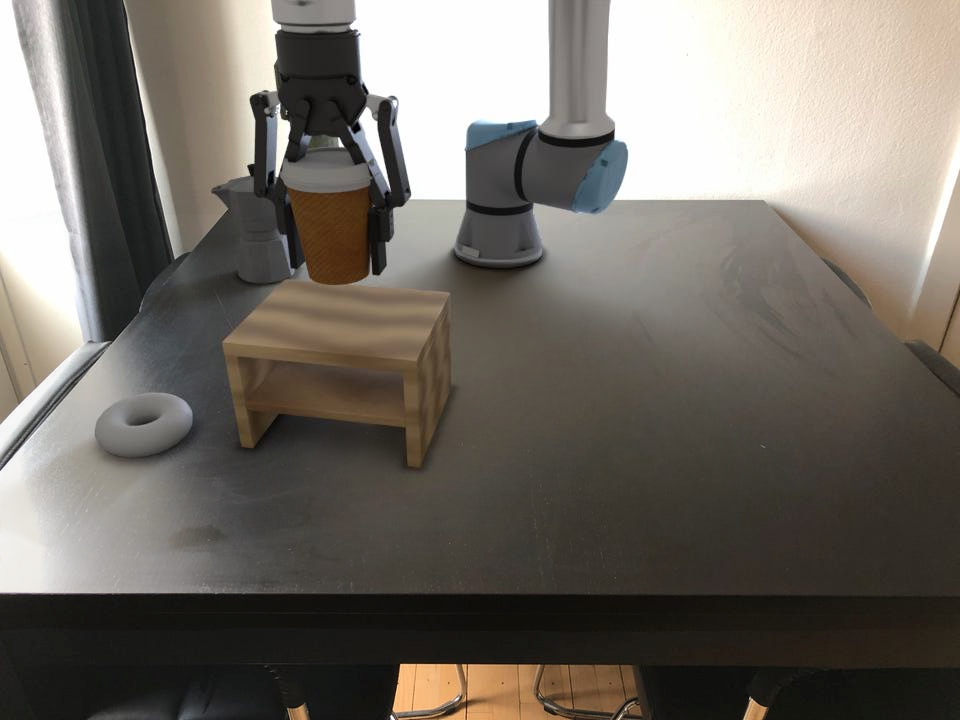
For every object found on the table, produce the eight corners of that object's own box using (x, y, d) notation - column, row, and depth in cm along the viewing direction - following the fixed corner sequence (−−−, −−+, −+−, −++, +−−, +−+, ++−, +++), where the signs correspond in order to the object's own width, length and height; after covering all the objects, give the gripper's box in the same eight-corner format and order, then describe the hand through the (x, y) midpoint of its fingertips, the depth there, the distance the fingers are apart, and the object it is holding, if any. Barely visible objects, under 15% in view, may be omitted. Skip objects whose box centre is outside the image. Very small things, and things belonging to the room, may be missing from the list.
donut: (96, 426, 84) (101, 474, 76) (88, 400, 82) (93, 446, 74) (188, 404, 88) (202, 448, 80) (182, 379, 86) (196, 421, 78)
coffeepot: (229, 290, 116) (210, 176, 107) (222, 268, 123) (204, 160, 114) (327, 276, 121) (316, 166, 112) (315, 255, 128) (304, 151, 120)
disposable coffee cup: (368, 296, 72) (359, 174, 66) (276, 287, 74) (260, 167, 68) (397, 260, 80) (391, 148, 74) (314, 253, 82) (302, 143, 76)
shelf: (297, 373, 94) (285, 279, 88) (451, 388, 91) (450, 292, 85) (241, 447, 80) (221, 342, 74) (420, 468, 78) (416, 360, 71)
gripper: (186, 27, 64) (228, 273, 75) (422, 35, 61) (428, 289, 72) (226, 19, 70) (259, 246, 81) (442, 26, 67) (445, 261, 78)
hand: (339, 266), depth 77 cm, fingers closed on disposable coffee cup, 8 cm apart
